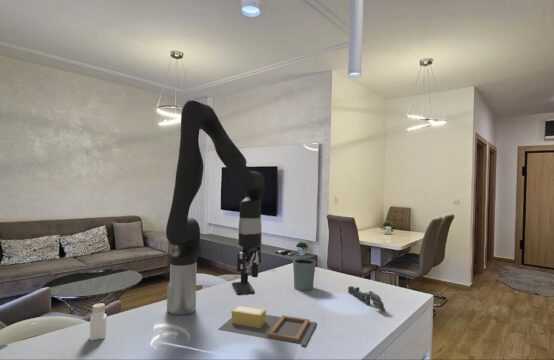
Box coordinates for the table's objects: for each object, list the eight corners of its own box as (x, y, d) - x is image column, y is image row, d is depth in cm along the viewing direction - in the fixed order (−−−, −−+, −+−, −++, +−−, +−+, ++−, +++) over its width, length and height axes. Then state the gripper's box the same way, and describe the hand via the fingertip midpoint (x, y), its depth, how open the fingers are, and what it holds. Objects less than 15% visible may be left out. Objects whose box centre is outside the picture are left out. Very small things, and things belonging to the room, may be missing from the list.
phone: (248, 281, 150) (255, 291, 135) (248, 283, 149) (255, 294, 135) (231, 282, 147) (236, 293, 133) (231, 285, 147) (236, 295, 133)
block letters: (385, 315, 114) (385, 299, 115) (381, 315, 114) (382, 299, 114) (351, 292, 139) (351, 279, 139) (348, 292, 138) (348, 279, 138)
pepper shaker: (91, 335, 96) (92, 303, 96) (106, 333, 98) (107, 301, 98) (89, 341, 92) (90, 308, 92) (105, 339, 94) (105, 306, 94)
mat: (217, 331, 100) (217, 326, 100) (239, 312, 115) (239, 307, 115) (305, 346, 91) (305, 341, 91) (316, 324, 106) (316, 319, 106)
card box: (231, 323, 105) (231, 310, 105) (238, 317, 109) (238, 305, 109) (260, 328, 101) (260, 315, 102) (265, 321, 106) (265, 309, 106)
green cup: (288, 285, 146) (289, 259, 146) (308, 283, 150) (308, 257, 150) (299, 292, 137) (300, 264, 137) (319, 289, 141) (320, 262, 141)
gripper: (248, 228, 114) (248, 274, 114) (229, 233, 100) (229, 285, 100) (268, 229, 111) (267, 276, 111) (251, 235, 98) (251, 288, 98)
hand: (249, 280), depth 106 cm, fingers open, 8 cm apart
